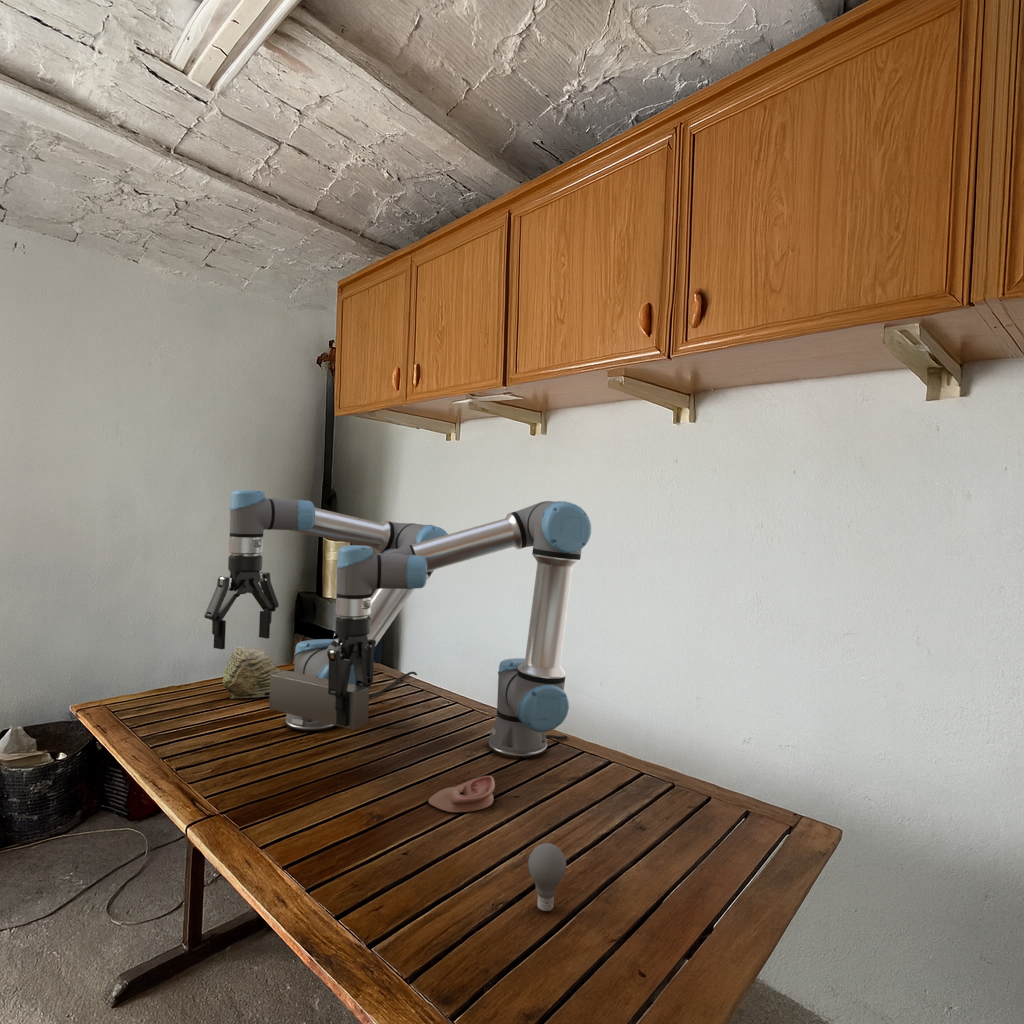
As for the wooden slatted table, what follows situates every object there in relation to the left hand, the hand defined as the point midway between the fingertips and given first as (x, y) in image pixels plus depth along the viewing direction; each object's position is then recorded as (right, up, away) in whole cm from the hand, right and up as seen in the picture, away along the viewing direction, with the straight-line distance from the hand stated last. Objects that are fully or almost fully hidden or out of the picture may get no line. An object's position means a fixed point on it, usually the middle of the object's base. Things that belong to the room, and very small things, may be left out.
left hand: (242, 643), depth 152 cm
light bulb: (+70, -31, -52) cm, 92 cm away
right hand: (+29, -15, -12) cm, 35 cm away
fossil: (-16, -26, +46) cm, 56 cm away
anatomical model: (+54, -30, -17) cm, 64 cm away
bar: (+20, -15, -8) cm, 26 cm away
